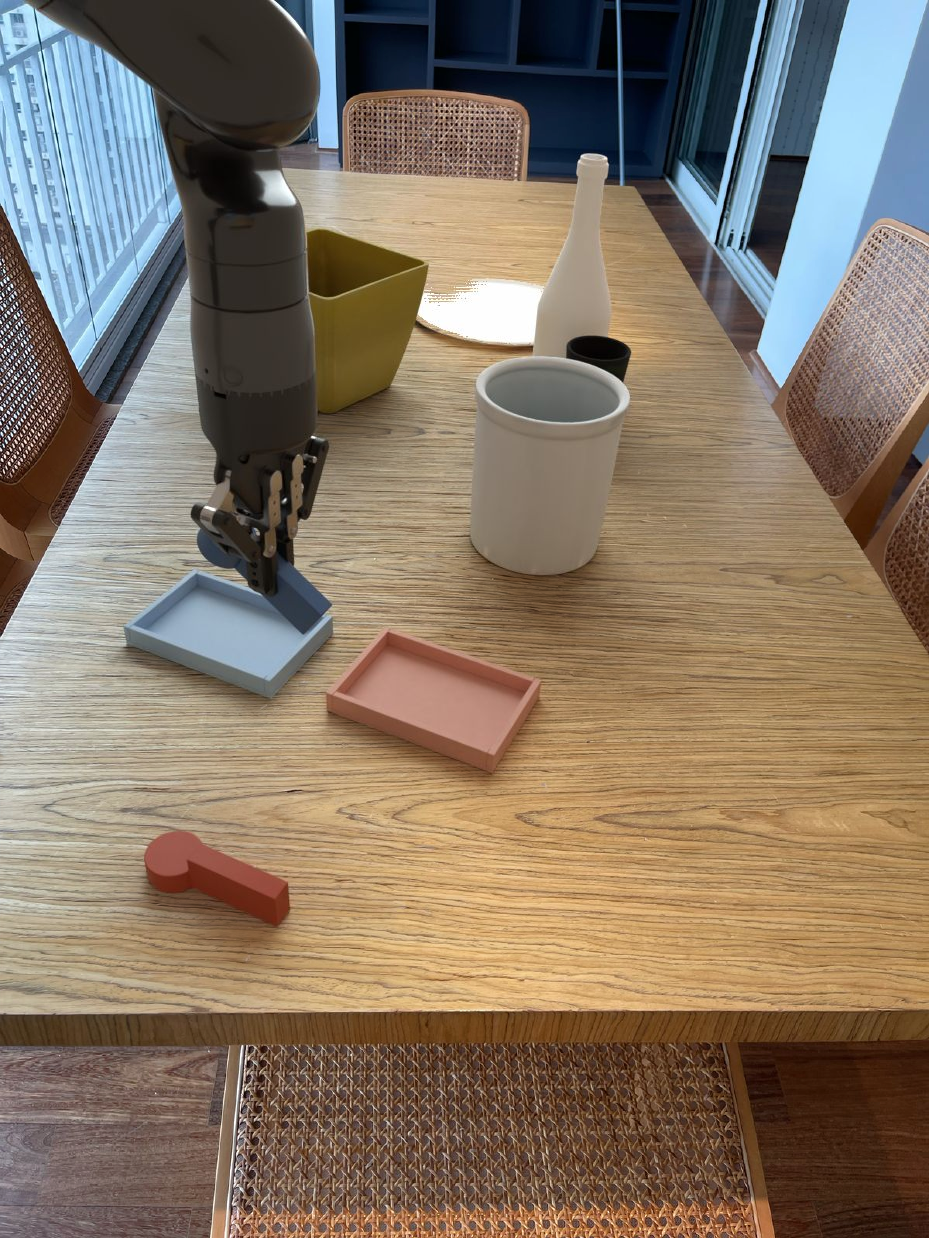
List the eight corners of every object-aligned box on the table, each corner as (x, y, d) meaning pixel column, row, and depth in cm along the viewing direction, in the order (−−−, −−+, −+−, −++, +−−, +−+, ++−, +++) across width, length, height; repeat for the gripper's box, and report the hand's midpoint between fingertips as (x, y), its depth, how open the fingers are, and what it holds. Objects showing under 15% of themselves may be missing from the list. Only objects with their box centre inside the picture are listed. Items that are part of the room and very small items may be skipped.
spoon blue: (323, 615, 76) (342, 595, 74) (293, 644, 73) (312, 624, 71) (219, 514, 75) (235, 491, 73) (185, 539, 72) (200, 516, 70)
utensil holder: (622, 575, 102) (652, 419, 91) (480, 585, 99) (494, 425, 89) (580, 501, 113) (603, 354, 103) (452, 508, 111) (461, 357, 100)
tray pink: (539, 697, 87) (541, 679, 85) (492, 773, 79) (494, 755, 78) (384, 643, 91) (384, 626, 90) (326, 710, 84) (325, 692, 83)
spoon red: (299, 896, 69) (298, 868, 67) (267, 941, 66) (264, 913, 64) (171, 839, 72) (166, 811, 70) (135, 879, 69) (128, 851, 67)
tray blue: (333, 633, 92) (332, 616, 91) (271, 699, 84) (269, 681, 83) (196, 585, 97) (194, 568, 95) (126, 643, 89) (122, 626, 88)
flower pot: (428, 386, 135) (433, 260, 125) (331, 433, 123) (328, 298, 112) (324, 346, 144) (321, 226, 133) (224, 387, 131) (212, 258, 121)
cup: (542, 435, 126) (553, 344, 118) (583, 419, 130) (596, 330, 123) (587, 459, 121) (601, 366, 114) (628, 442, 126) (644, 351, 118)
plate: (595, 293, 168) (596, 285, 167) (587, 361, 145) (588, 353, 144) (424, 274, 170) (424, 267, 170) (389, 338, 147) (389, 330, 147)
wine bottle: (610, 392, 137) (647, 157, 119) (578, 416, 131) (612, 171, 112) (550, 373, 141) (577, 143, 123) (515, 395, 134) (539, 156, 116)
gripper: (268, 316, 69) (281, 528, 80) (135, 387, 59) (170, 618, 70) (362, 340, 67) (363, 555, 77) (239, 418, 57) (260, 653, 67)
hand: (272, 585), depth 73 cm, fingers closed on spoon blue, 1 cm apart
